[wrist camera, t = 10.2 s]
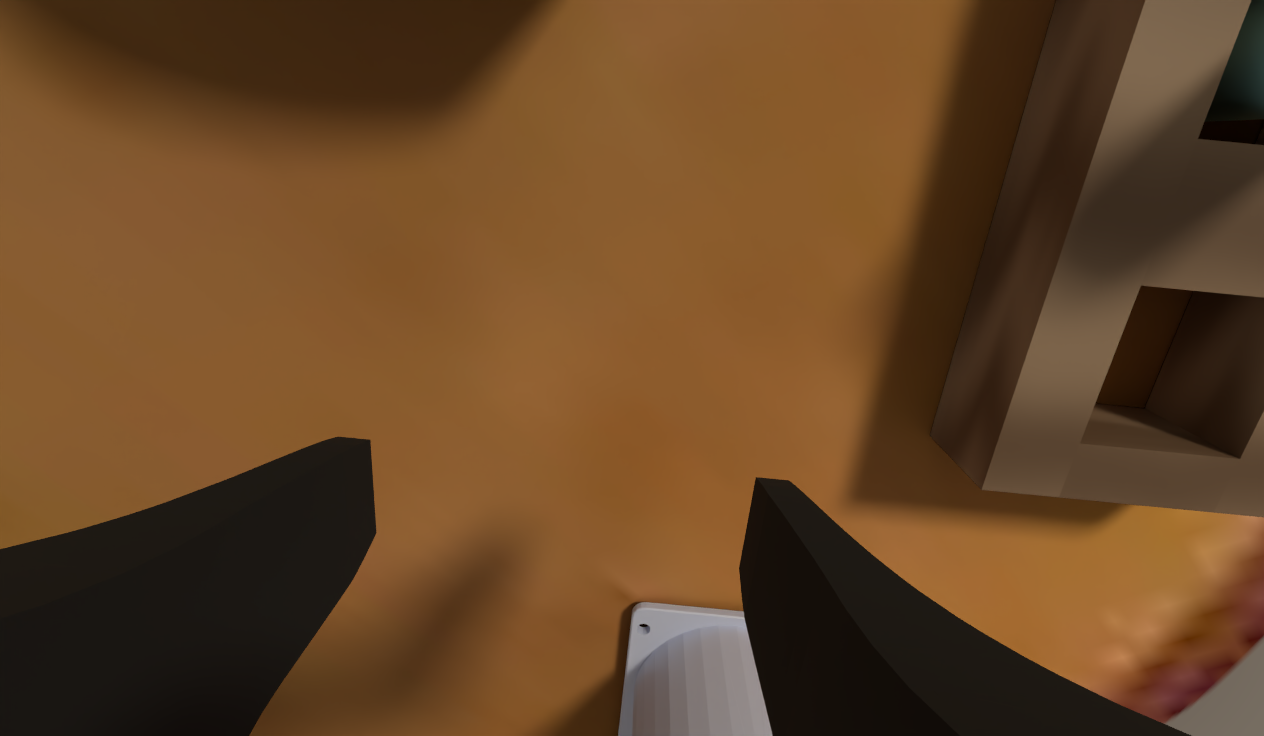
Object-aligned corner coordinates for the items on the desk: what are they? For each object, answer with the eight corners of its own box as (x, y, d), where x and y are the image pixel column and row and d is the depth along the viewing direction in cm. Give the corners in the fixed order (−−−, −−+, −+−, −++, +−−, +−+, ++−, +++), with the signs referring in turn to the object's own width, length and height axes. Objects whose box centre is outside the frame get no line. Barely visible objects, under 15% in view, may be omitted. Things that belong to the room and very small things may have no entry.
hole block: (1190, 461, 21) (1290, 519, 18) (929, 435, 21) (981, 489, 18) (1448, -97, 15) (1665, -164, 12) (1094, -131, 15) (1214, -208, 12)
